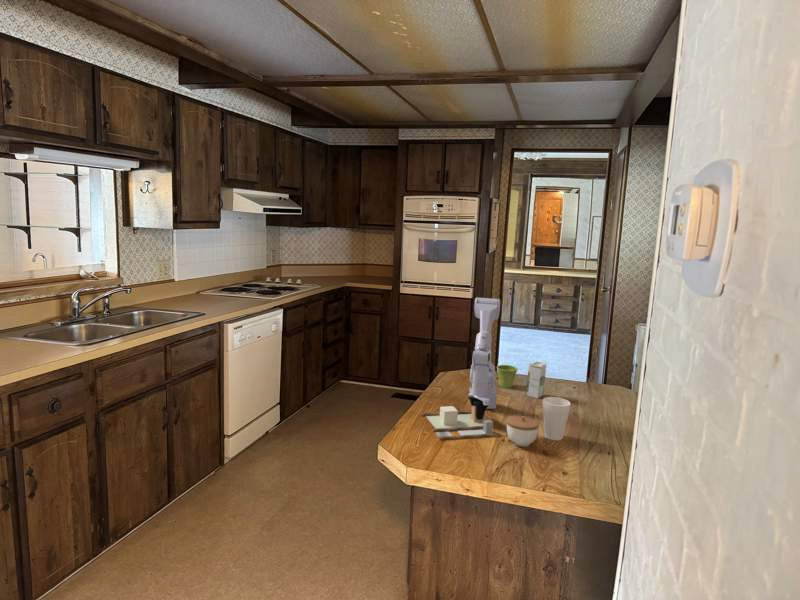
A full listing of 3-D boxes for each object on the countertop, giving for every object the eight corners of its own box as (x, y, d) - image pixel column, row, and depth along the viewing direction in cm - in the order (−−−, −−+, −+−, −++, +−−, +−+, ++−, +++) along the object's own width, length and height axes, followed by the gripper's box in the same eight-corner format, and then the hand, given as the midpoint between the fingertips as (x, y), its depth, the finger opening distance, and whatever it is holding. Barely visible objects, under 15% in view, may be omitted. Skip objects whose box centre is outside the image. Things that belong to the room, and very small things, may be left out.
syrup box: (530, 392, 243) (533, 360, 241) (543, 395, 240) (546, 363, 238) (525, 395, 239) (528, 363, 236) (538, 399, 235) (541, 366, 233)
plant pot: (518, 385, 253) (519, 366, 252) (513, 390, 245) (515, 371, 243) (498, 381, 257) (499, 363, 256) (493, 387, 249) (494, 368, 247)
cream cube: (452, 419, 205) (453, 406, 204) (456, 424, 200) (457, 410, 200) (439, 419, 204) (440, 406, 203) (443, 424, 199) (444, 411, 198)
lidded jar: (540, 440, 192) (542, 414, 190) (533, 452, 182) (536, 425, 181) (509, 434, 196) (511, 408, 195) (501, 445, 186) (503, 418, 185)
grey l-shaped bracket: (488, 431, 197) (489, 418, 196) (494, 436, 192) (495, 423, 192) (456, 433, 194) (457, 420, 193) (461, 438, 189) (462, 425, 189)
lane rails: (472, 415, 213) (472, 410, 213) (497, 439, 191) (497, 434, 191) (420, 417, 208) (420, 413, 208) (439, 443, 186) (439, 438, 186)
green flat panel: (475, 415, 212) (476, 400, 211) (489, 428, 199) (490, 412, 198) (425, 418, 207) (426, 402, 206) (436, 432, 194) (437, 415, 193)
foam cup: (552, 443, 189) (555, 407, 187) (534, 433, 197) (537, 398, 195) (573, 439, 194) (576, 404, 192) (554, 430, 202) (557, 395, 200)
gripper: (462, 376, 209) (460, 410, 211) (477, 388, 195) (474, 425, 197) (480, 375, 210) (477, 410, 212) (496, 387, 196) (493, 424, 199)
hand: (477, 417), depth 205 cm, fingers closed on green flat panel, 3 cm apart
